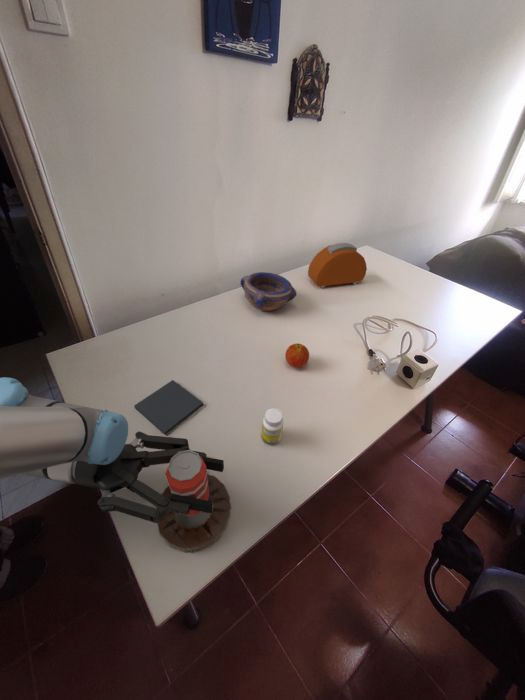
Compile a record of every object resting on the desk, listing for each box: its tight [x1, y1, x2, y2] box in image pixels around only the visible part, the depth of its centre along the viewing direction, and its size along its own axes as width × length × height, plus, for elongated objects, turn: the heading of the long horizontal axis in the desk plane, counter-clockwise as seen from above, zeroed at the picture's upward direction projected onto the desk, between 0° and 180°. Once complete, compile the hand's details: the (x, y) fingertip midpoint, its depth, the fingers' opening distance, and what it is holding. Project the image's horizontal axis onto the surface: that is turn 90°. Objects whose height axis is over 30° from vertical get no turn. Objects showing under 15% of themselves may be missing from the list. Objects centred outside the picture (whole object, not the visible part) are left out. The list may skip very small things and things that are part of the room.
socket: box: [156, 473, 232, 554], centre depth 59 cm, size 14×14×2 cm
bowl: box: [240, 271, 297, 312], centre depth 115 cm, size 18×18×10 cm
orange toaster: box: [307, 242, 368, 289], centre depth 130 cm, size 23×9×17 cm, turn 108°
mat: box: [133, 379, 204, 436], centre depth 79 cm, size 12×12×1 cm
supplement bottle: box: [260, 407, 284, 446], centre depth 71 cm, size 5×5×8 cm
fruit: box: [284, 342, 310, 368], centre depth 91 cm, size 7×7×8 cm
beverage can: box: [165, 449, 210, 517], centre depth 53 cm, size 6×6×12 cm
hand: (217, 485), depth 52 cm, fingers closed on beverage can, 6 cm apart
